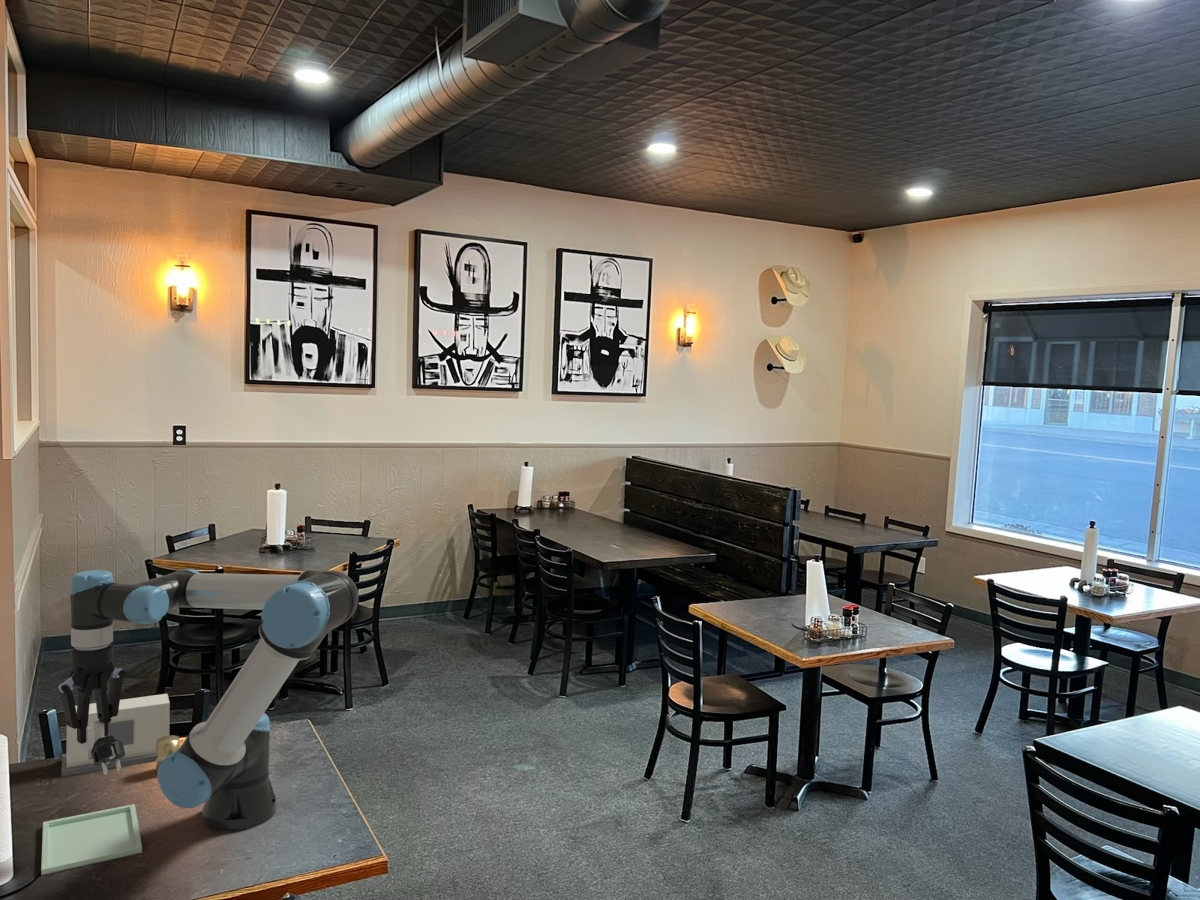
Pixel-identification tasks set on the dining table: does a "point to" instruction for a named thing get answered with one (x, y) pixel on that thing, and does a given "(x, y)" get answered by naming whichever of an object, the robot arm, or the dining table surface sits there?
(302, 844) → the dining table surface
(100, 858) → the tray
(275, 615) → the robot arm
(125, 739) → the box
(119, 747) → the power plug
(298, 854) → the dining table surface
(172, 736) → the cylinder
